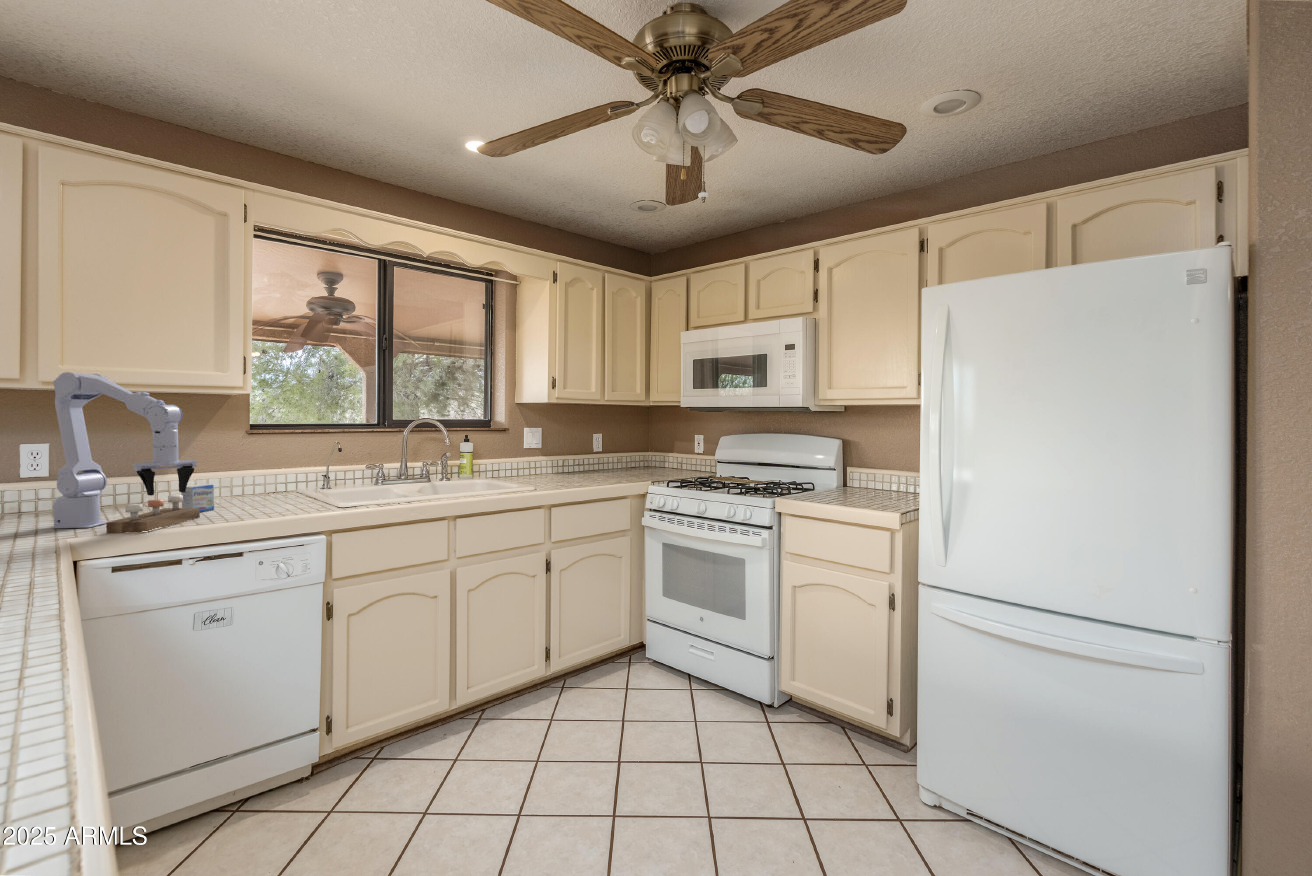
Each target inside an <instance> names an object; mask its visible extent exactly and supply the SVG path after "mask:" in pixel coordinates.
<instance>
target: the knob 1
mask: <svg viewBox="0 0 1312 876" xmlns="http://www.w3.org/2000/svg"><path fill="white" fill-rule="evenodd" d="M124 508H125V510H124V511H125V513H129V514H130V516H129V517H131V521H138V515H139V512H143V503H134V504H133V503H132V504H131V503H130V504H126V505H125V507H124Z"/></svg>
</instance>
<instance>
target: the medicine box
mask: <svg viewBox="0 0 1312 876" xmlns="http://www.w3.org/2000/svg"><path fill="white" fill-rule="evenodd" d="M214 487H215V486H214V484H212V483H211V484H210V483H209V484H207V483H205V484H204V483H203V484H198V485H197V484H196V485H187V487H186V491H185V492H180V493H181V494H180V495H183V501H182V502H181V508H199V510H200V513H205V512H209V510H210V511H214V510H215V489H214Z"/></svg>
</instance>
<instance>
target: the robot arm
mask: <svg viewBox="0 0 1312 876" xmlns="http://www.w3.org/2000/svg"><path fill="white" fill-rule="evenodd" d="M52 383H53V387H54V394H55V398H54V405H55V406H54V407H55V413H56V417H57V423H58V428H59V432H60V438H61V445H62V448H63V454H64V460H65V464H64V465H63V466H62V467H60V469H58V470H57V480H56V488H57V490H58V492H59V493H60V494H61V496H58V497H57V498H56V499H55V500H54V503H53V505H52V506H53V510H52V511H53V526H51V529H86V528H88V529H89V528H93V527H96V526H101V525H106V522H110V521H108V520H107V521H105V520H102V521H101V519H102V518H101V494H103V490H104V489H106V487H107V484H108V480H107V476H106V474H105V473H104V472H103V469H102V466H101V464H98V463H97V462H95V461H93V458H92V457H93V456H92V452H91V448H90V447H91V446H90V443H89V441H90V440H89V437H88V431H87V425H86V422H85V416H84V410H83V407H84V406H85V405H86V404H88V403H89V402H91V401H93V400H94V399H96V398H98V397H99V396H102V395H105V396H107V397H109V398H113V399H114V400H117V401H120V402H122V403H124V404H125V407H126V409H127V410H129V411H131V412H134V413H136V414H138V415H140V416H141V417H144V418H145V419H146V420H147V422H148V423H149V424H150V430H151V431H152V461H150V462H136V463H135V462H134V463H133V471H136V474H137V475H138V477H139V478H140V479H141V481H142V483H143V485H144V487H145V491H146V494H147V496H154V495H155V485H154V483H155V476H156V472H155V471H153V470H161V469H162V470H163V469H165V470H166V469H176V471H177V477H178V492H179V493H181V492H185V491H186V487H188V483H189V481H190V479H191V477H192V475H193V474H194V473H195V468H197V466H198V465H197V461H198V460H197V459H196V460H195V459H190V460H188V459H187V460H179V458H180V457H179V424H180V423H181V422H182V420H183V417H184V413H183V410H182V409H181V407H179V406H177V405H176V404H174V403H173V404H171V403H170V404H166V403H165V401H164V400H162V399H157V398H154V397H152V396H150V393H149V392H146V391H136V392H132V391H130V390H129V389H126V388H125V387H124V386H122V385H119V384H118V383H115V382H114V381H112V380H110V379H109V377H106V376H103V375H101V374H98V373H78V372H71V371H70V372H69V371H64V372H63V373H61V374H59V375H58V376H57V377H56V378H55V380H54V381H53V382H52Z"/></svg>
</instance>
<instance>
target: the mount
mask: <svg viewBox="0 0 1312 876" xmlns="http://www.w3.org/2000/svg"><path fill="white" fill-rule="evenodd" d="M159 509H160V515H153V511H152V510H151V511H148V512H144V513H140V514H139V513H138V521H131V517H130V516H127V517H123V518H118V519H116V520H111V521H109V522H106V523H105V527H106V534H126V533H125V532H142V531H149V530H152V529H155V528H159V527H165V526H168V527H170V526H169V525H172V524H175V525H179V524H182V523H185V522H184V521H186V522H188V521H187V520H189V521H192V520H195V519H194V518H196V519H199V518H200V517H201V516H200V513H201V512H200V510H199V508H182V507H179V510H172V507H171V508H169V507H165V508H159ZM198 517H199V518H198ZM191 519H192V520H191ZM181 522H182V523H181ZM178 523H179V524H178ZM172 526H173V525H172ZM165 528H166V527H165Z"/></svg>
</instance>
